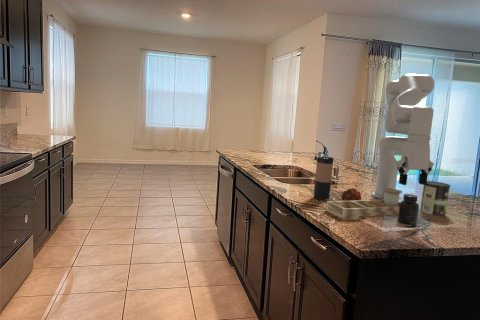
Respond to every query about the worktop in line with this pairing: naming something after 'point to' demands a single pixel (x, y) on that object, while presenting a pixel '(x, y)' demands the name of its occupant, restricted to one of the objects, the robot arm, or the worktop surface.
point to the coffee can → (435, 198)
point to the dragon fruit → (351, 195)
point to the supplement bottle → (408, 210)
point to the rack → (360, 209)
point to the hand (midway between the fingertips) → (412, 184)
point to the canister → (391, 197)
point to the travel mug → (323, 178)
